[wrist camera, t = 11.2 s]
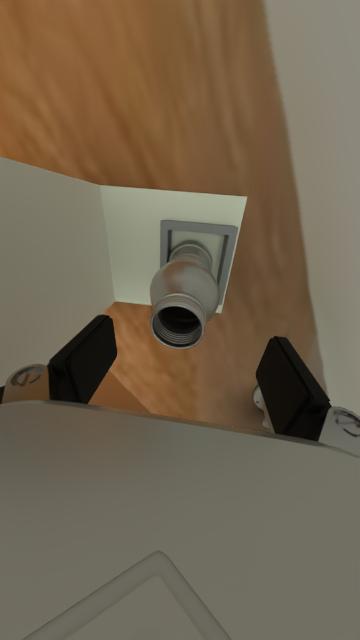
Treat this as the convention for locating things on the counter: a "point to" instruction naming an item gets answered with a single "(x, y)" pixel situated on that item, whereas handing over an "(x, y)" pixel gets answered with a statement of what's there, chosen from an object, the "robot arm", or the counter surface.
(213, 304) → the grey tall bottle shape
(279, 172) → the counter surface
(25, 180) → the socket stand
